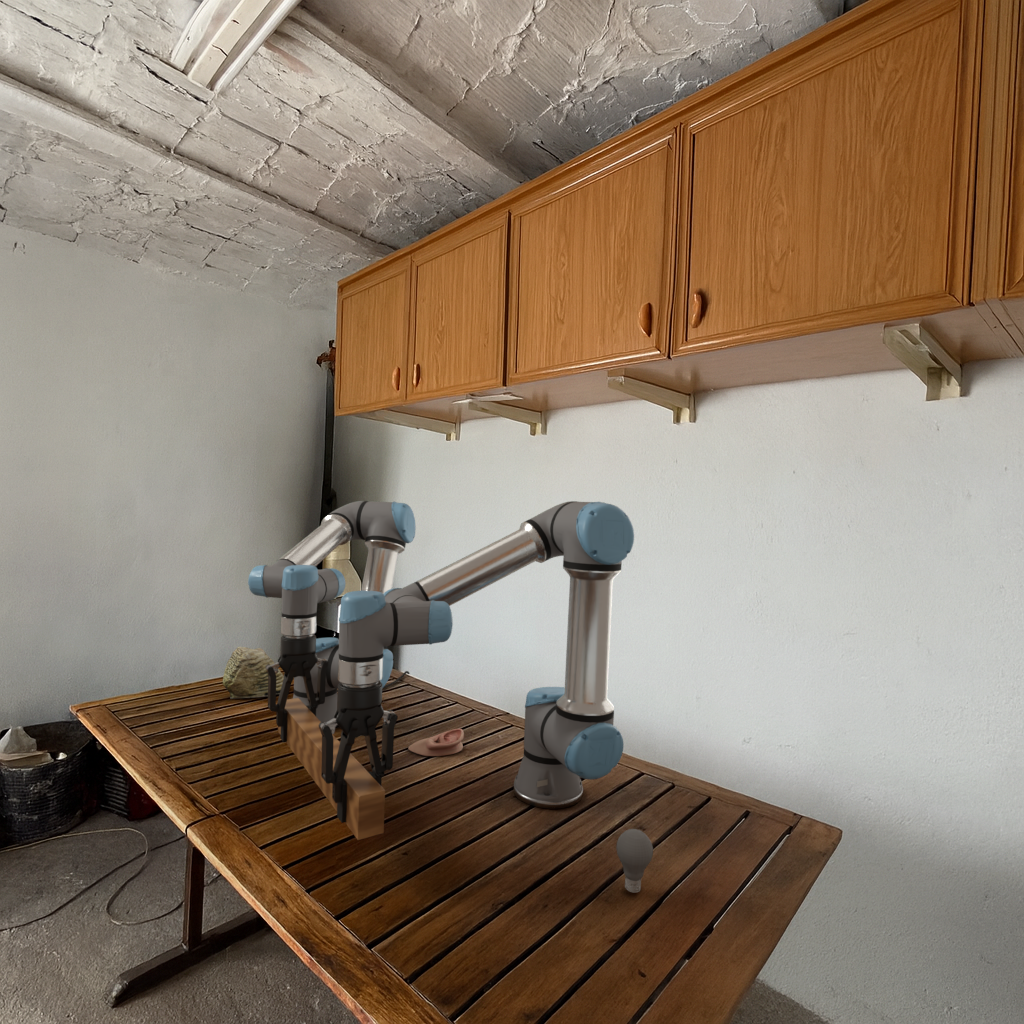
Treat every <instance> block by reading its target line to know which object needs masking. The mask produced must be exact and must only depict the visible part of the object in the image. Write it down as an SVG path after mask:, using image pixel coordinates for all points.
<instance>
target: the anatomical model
mask: <svg viewBox="0 0 1024 1024" xmlns="http://www.w3.org/2000/svg"><path fill="white" fill-rule="evenodd" d="M464 738H465V733H464V730H463V729H462V728H453V729H450V730H447V731H443V732H441V733H438V734H435V735H433V736H431V737H427V738H422V739H420V740H417V741H414V743H412V744H410V745H409V746H408V750H409V751H410V752H412V753H414V754H417V755H420V756H424V757H440V756H449V755H453V754H458V753H459V752H461V751H463V748H464V746H463V742H462V741H463V740H464Z"/></svg>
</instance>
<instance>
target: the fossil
mask: <svg viewBox="0 0 1024 1024" xmlns="http://www.w3.org/2000/svg"><path fill="white" fill-rule="evenodd" d="M274 663H275V662H274V660H273V659H272V658H271V657H270V656H269V655H268V654H267V653H266V652H265V650H264V649H263V648H260V647H258V648H251V647H247V646H246V647H245V646H238V647H237V648H236V649H235V650H233V651H232V653H231V656H230V657H229V659H228V660H227V663H226V666H225V668H224V671H223V675H222V676H223V677H222V685H223V687H224V688H225V690H226V691H228V693H229V698H230V699H250V698H264V697H268V673H267V670H266V665H268V664H270V665H272V664H274ZM283 677H284V674H283V673H282V672H281V669H280V668H278V673H277V674H276V695H279V694H280V691H281V687H282V683H283Z"/></svg>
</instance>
